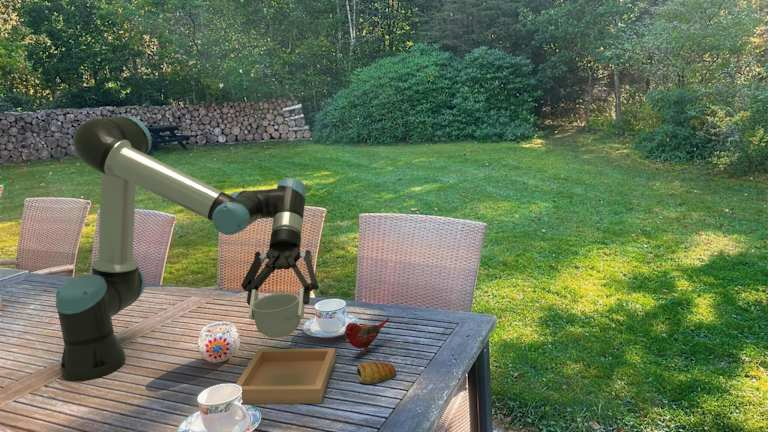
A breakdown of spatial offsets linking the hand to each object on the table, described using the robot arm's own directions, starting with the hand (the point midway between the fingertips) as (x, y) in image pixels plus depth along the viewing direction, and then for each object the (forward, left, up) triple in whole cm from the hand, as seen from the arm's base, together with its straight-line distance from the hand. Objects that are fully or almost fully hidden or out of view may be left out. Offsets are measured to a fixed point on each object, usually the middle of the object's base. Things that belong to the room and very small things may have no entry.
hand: (276, 317), depth 130 cm
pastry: (+21, +5, -18) cm, 28 cm away
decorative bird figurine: (+19, +19, -18) cm, 32 cm away
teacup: (0, +2, -4) cm, 5 cm away
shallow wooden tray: (+1, +3, -18) cm, 18 cm away
